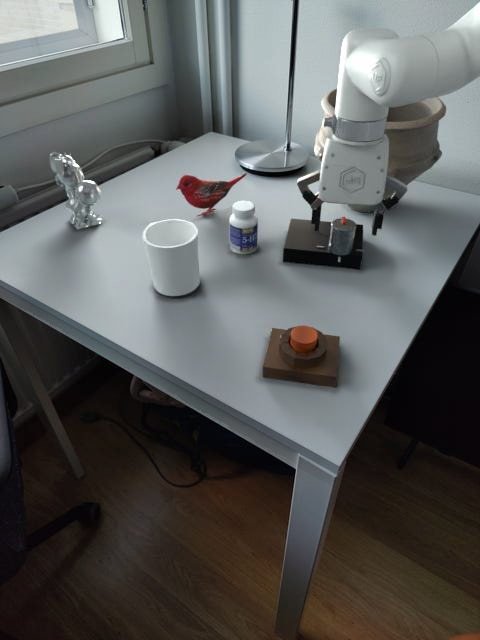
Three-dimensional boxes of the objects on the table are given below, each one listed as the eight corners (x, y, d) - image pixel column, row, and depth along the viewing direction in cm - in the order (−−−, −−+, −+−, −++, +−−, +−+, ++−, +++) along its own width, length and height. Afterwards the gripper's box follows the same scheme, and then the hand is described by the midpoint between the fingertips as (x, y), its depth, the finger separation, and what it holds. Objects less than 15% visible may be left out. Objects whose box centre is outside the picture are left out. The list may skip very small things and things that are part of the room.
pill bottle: (244, 258, 86) (244, 215, 80) (224, 248, 89) (222, 206, 83) (263, 246, 89) (264, 204, 83) (243, 237, 92) (242, 196, 86)
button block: (338, 346, 68) (341, 326, 66) (335, 387, 62) (339, 367, 60) (271, 338, 70) (272, 318, 67) (262, 377, 64) (262, 357, 61)
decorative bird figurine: (176, 221, 97) (170, 176, 90) (243, 197, 105) (242, 153, 98) (183, 227, 95) (178, 181, 89) (251, 201, 103) (251, 158, 96)
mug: (212, 285, 80) (209, 233, 73) (170, 307, 76) (162, 254, 69) (176, 259, 86) (169, 209, 80) (135, 278, 82) (124, 227, 75)
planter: (434, 192, 105) (464, 87, 90) (412, 244, 89) (444, 126, 74) (329, 172, 114) (341, 74, 99) (292, 216, 98) (299, 106, 83)
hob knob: (352, 256, 81) (357, 229, 77) (328, 254, 81) (331, 228, 78) (351, 243, 84) (355, 217, 80) (328, 241, 84) (331, 215, 81)
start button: (317, 336, 65) (318, 327, 64) (315, 354, 62) (316, 345, 61) (291, 333, 65) (292, 323, 64) (288, 350, 63) (289, 341, 62)
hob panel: (361, 238, 91) (364, 223, 89) (361, 278, 81) (364, 263, 79) (290, 231, 93) (290, 217, 91) (280, 270, 83) (281, 255, 81)
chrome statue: (117, 233, 94) (101, 161, 84) (89, 243, 91) (69, 170, 81) (86, 206, 102) (68, 138, 92) (59, 215, 100) (38, 146, 90)
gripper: (298, 133, 67) (292, 236, 78) (422, 138, 64) (398, 245, 75) (303, 117, 73) (297, 215, 84) (418, 121, 70) (396, 222, 81)
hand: (345, 229), depth 79 cm, fingers open, 9 cm apart
